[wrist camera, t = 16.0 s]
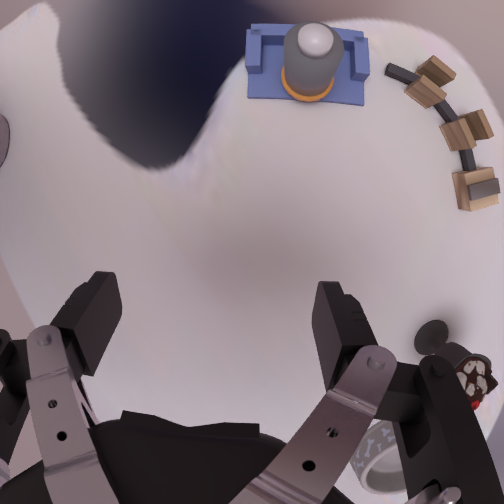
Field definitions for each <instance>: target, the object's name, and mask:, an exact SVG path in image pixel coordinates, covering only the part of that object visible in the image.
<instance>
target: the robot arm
mask: <svg viewBox="0 0 504 504" xmlns="http://www.w3.org/2000/svg"><path fill="white" fill-rule="evenodd" d="M8 143H9V127H8V123H7V121H6V119H5V118H4V117H3V116H1V115H0V166H1V164H2V163H3V161H4V158H5V156H6V153H7V149H8ZM363 312H364V311H363V309H362V307H361V305H360V302H359V301H357V300H356V299H355V298H354V297H353V296H352V295H351V294H344V293H343V290H342V288H341V285H340V283H339V282H334V281H320V282H319V283H318V287H317V292H316V297H315V303H314V308H313V313H312V329H313V333H314V338H315V342H316V347H317V351H318V356H319V360H320V365H321V370H322V374H323V379H324V384H325V389H326V392H327V393H326V394H325V395H324V397H323V398H322V399H321V401H320V402H319V404H318V405H317V406H316V408H315V409H314V410H313V412H312V413H311V414H310V416H309V417H308V418H307V419H306V421H305V422H304V423H303V425H302V426H301V427H300V428H299V430H298V431H297V432H296V433H295V435H294V436H293V437H292V438H291V440H290V441H289V442H288V443H285V442H283V441H282V440H280V439H277V438H275V437H273V436H270V435H267V434H263V433H260V431H259V424H257V423H227V422H223V423H217V424H210V425H202V426H194V427H186V426H182V425H179V424H176V423H173V422H171V421H168V420H165V419H162V418H160V417H157V416H155V415H148V414H142V413H136V412H130V411H125V410H123V412H122V415H121V418H120V419H116V420H110V421H106V422H102V423H100V424H99V422H98V420H97V418H96V416H95V413H94V411H93V408H92V406H91V403H90V400H89V398H88V395H87V392H86V390H85V387H84V384H83V382H82V380H81V376H82V374H83V375H88V376H94V373H95V371H96V369H97V367H98V365H99V362H100V360H101V358H102V356H103V354H104V352H105V349H106V347H107V345H108V343H109V341H110V339H111V337H112V335H113V333H114V331H115V329H116V327H117V325H118V323H119V321H120V318H121V315H122V302H121V298H120V293H119V288H118V284H117V279H116V275H115V273H113V272H102V271H96V272H95V273H94V274H93V276H92V277H91V278H90V280H89V281H88V282H84V283H83V284H82V285H80V286H79V287H77V288H76V289H75V290H74V291H73V293H72V294H71V295H70V298H68V299H67V301H66V302H65V305H63V306H62V308H61V309H60V311H59V312H58V313H57V315H56V316H55V318H54V319H53V320H52V322H51V323H50V325H44V326H41V327H38V328H36V329H35V330H33V331H32V332H31V333H30V334H29V336H28V338H27V339H23V340H12V339H11V337H10V335H9V333H8V332H7V331H6V330H3V329H0V381H1V383H2V384H3V388H2V390H1V392H0V504H354V503H353V502H352V501H351V500H350V499H348V498H347V497H346V496H345V495H344V494H343V493H341V492H340V491H339V490H338V489H337V488H336V487H335V486H334V484H335V482H336V481H337V479H338V478H339V476H340V475H341V473H342V472H343V470H344V469H345V467H346V465H347V464H348V462H349V460H350V459H351V457H352V456H353V454H354V452H355V450H356V449H357V447H358V445H359V444H360V442H361V440H362V438H363V437H364V435H365V433H366V431H367V429H368V427H369V426H370V424H371V422H372V420H373V419H379V420H385V421H391V422H392V426H393V430H394V434H395V438H396V443H397V447H398V451H399V456H400V460H401V465H402V469H403V474H404V479H405V484H406V489H407V495H408V500H409V501H407V502H406V503H405V504H504V495H503V492H502V488H501V485H500V482H499V478H498V475H497V472H496V469H495V466H494V463H493V460H492V457H491V454H490V452H489V449H488V446H487V443H486V441H485V438H484V435H483V433H482V430H481V428H480V425H479V423H478V420H477V418H476V416H475V413H474V411H473V409H472V406H471V404H470V402H469V399H468V397H467V395H466V393H465V391H464V388H463V386H462V384H461V382H460V380H459V378H458V376H457V374H456V371H455V369H454V367H453V366H452V364H451V363H450V362H449V361H448V360H446V359H445V358H443V357H440V356H437V355H428V356H426V357H424V358H423V359H422V360H421V361H420V363H419V365H412V364H407V363H401V362H397V360H396V358H395V356H394V355H393V353H392V352H390V351H389V350H388V349H386V348H384V347H381V346H378V343H377V341H376V339H375V336H374V334H373V332H372V329H371V327H370V325H369V323H368V321H367V318H366V316H365V314H364V313H363ZM29 410H31V415H32V420H33V424H34V429H35V433H36V437H37V441H38V445H39V448H40V452H41V456H42V460H41V461H39V462H38V463H36V464H35V465H33V466H31V467H30V468H28V469H27V470H25V471H23V472H22V473H20V474H19V475H17V476H15V477H14V478H12V479H11V478H10V470H9V467H8V465H9V462H10V459H11V456H12V453H13V451H14V448H15V445H16V442H17V440H18V437H19V434H20V431H21V429H22V427H23V424H24V421H25V419H26V417H27V414H28V412H29Z"/></svg>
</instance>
